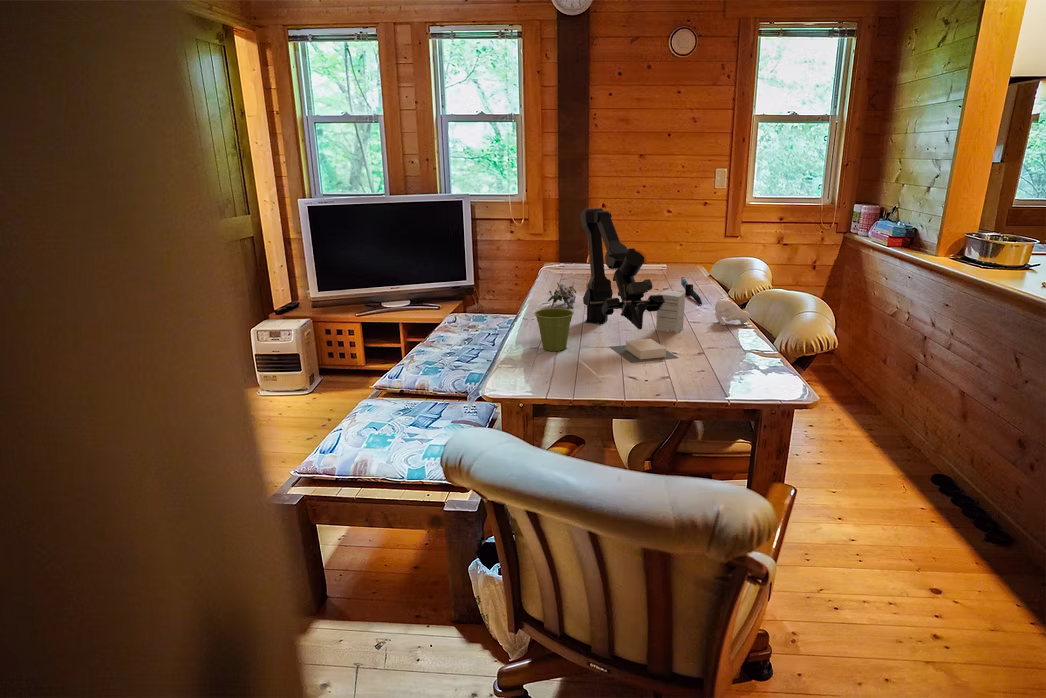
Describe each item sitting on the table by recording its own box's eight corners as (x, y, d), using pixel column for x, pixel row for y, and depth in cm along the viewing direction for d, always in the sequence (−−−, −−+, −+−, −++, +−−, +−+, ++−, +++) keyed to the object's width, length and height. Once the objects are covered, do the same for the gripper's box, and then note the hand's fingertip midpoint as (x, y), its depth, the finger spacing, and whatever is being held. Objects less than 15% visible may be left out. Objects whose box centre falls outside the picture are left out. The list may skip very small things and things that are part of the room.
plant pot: (563, 340, 195) (563, 306, 191) (580, 351, 184) (580, 315, 181) (528, 345, 191) (528, 310, 187) (543, 356, 180) (543, 319, 177)
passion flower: (571, 321, 238) (575, 301, 228) (543, 315, 238) (547, 295, 229) (575, 300, 244) (580, 279, 235) (548, 294, 245) (552, 274, 235)
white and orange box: (626, 341, 183) (640, 350, 174) (650, 338, 185) (666, 348, 176) (625, 349, 184) (640, 360, 175) (650, 347, 186) (665, 357, 177)
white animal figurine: (715, 296, 213) (750, 300, 212) (710, 320, 216) (745, 324, 215) (718, 300, 207) (754, 304, 206) (714, 324, 210) (749, 328, 209)
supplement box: (662, 325, 210) (664, 289, 206) (683, 328, 207) (686, 292, 203) (655, 331, 204) (657, 294, 200) (676, 334, 201) (679, 296, 197)
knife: (679, 286, 266) (680, 276, 264) (686, 286, 266) (687, 276, 264) (694, 310, 238) (695, 299, 236) (702, 310, 238) (703, 299, 236)
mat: (609, 347, 187) (609, 346, 187) (653, 343, 191) (653, 342, 191) (631, 363, 173) (631, 362, 172) (679, 359, 176) (679, 358, 176)
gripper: (606, 272, 180) (620, 317, 173) (663, 268, 185) (679, 312, 178) (595, 292, 190) (608, 336, 183) (650, 288, 194) (665, 331, 188)
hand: (640, 328), depth 183 cm, fingers closed
